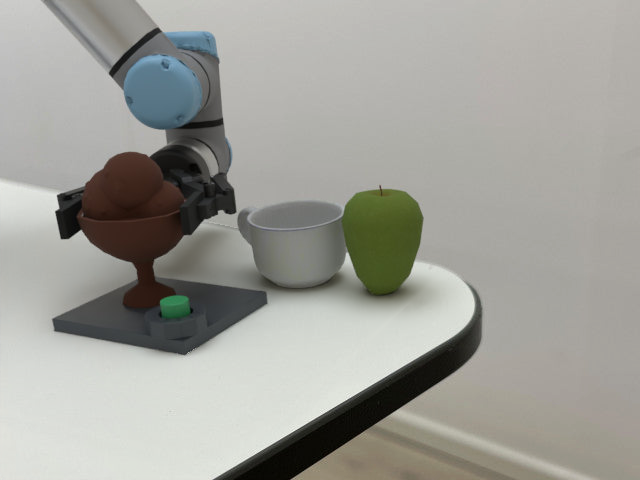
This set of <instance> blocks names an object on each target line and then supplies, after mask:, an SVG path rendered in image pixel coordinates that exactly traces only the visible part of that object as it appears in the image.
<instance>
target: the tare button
mask: <svg viewBox="0 0 640 480" xmlns="http://www.w3.org/2000/svg"><path fill="white" fill-rule="evenodd" d="M160 307H161V313H162V318H167V319H172V318H181V317H185V316H188V315H190V314H191V313H190V305H189V299H188V298H187V297H186V296H170V297H166V298H164V299H162V300H161V301H160Z"/></svg>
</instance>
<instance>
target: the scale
mask: <svg viewBox="0 0 640 480" xmlns="http://www.w3.org/2000/svg"><path fill="white" fill-rule="evenodd" d="M155 280H156V281H157V282H159V283H162V284H164V285H167V286H169V287H172V288H174V290H175V292H176V296H186V297H187V298H188V299H189V305H190V313H191V314H190V315H188V316H185V317H181V318H172V319H167V318H162V313H161V307H160V305H159V306H154V307H149V308H132V307H129V306H127V305H124V304H123V298H124V293H125V292H127V291H128V290H130V289H131V288H132V287H134V286H135V285H136V284H138V278H137V279H135V280H132V281H131V282H129V283H126V284H124V285H122V286H119V287H118V288H116V289H113V290H111V291H109V292H107V293H105V294H102V295H100V296H98V297H96V298H94V299H91V300H90V301H88V302H85V303H83V304H81V305H79V306H76V307H75V308H71V309H70V310H68V311H66V312H63V313H61V314H59V315H57V316H55V317H52V318H51V322H52V326H53V331H54V332H58V333H62V334H68V335H74V336H79V337H84V338H90V339H95V340H102V341H106V342H111V343H118V344H122V345H123V344H124V345H128V346H133V347H137V348H138V347H139V348H144V349H150V350H155V351H160V352H165V353H171V354H176V355H182V356H187V355H188V354H189V353H188V352H190V351H191V352H193V351H194V350H196V349H197V348H199V347H200V345H201V346H202V345H204V344H205V343H207V342H208V341H210V340H212V339H213V338H216V336H219V334H221V333H223V332H224V331H226V330H228V329H230V328H231V327H233V326H234V325H236V324H237V323H239V322H240V321H242V320H244V319H246V318H247V317H248V316H250V315H252V314H253V313H255V312H256V311H258V310H259V309H261V308H262V307H264V306H266V305H267V304H268V293H267V291H265V290H256V289H251V288H243V287H234V286H228V285H221V284H213V283H205V282H197V281H191V280H183V279H177V278H168V277H162V276H155ZM195 348H196V349H195ZM193 349H194V350H193ZM192 350H193V351H192ZM191 352H190V353H191ZM177 353H178V354H177ZM187 353H188V354H187Z"/></svg>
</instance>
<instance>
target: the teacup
mask: <svg viewBox="0 0 640 480" xmlns="http://www.w3.org/2000/svg"><path fill="white" fill-rule="evenodd" d="M344 208H345V206H343V205H342V204H339V203H337V202H335V201H331V200H327V199H326V200H324V199H314V198H313V199H307V198H305V199H303V198H301V199H291V200H283V201H278V202H274V203H270V204H266V205H264V206H260V207H257V206H253V205H251V206H245V207H244V208H242V209H241V210H240V211H239V212H238V215H237V218H236V219H237V227H238V230H239V233H240V234H241V236H242V238H243V239H244V240H245V242H247V243H248V244H249V245H250V246H251V250H252V255H253V260H254V264H255V266H256V269H257V270H258V272H259V274H261V275H262V276H263V277H265V279H268V280H269V281H271V282H272V283H273V284H275V285H277V286H279V287H282V288H287V289H307V288H312V287H317V286H321V285H323V284H324V283H326V282H328V281H330V280H331V279H332V278H333V276H334V275H335V274H336V273H338V272H339V271H340V270H341V269H342V267H343V266H344V263H345V260H346V256H347V247H346V243H345V238H344V233H343V227H342V222H341V221H342V217H343V213H344Z"/></svg>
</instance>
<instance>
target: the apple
mask: <svg viewBox="0 0 640 480" xmlns="http://www.w3.org/2000/svg"><path fill="white" fill-rule="evenodd" d="M378 188H379V189H369V190H364V191H363V190H362V191H359V192H355V194H353V196H352V197H351V198H349V200H348V201H346V204H345V205H344V213H343V217H342V221H341V222H342V227H343V233H344V238H345V243H346V251H347V253H348V256H349V259H350V261H351V264H352V267H353V270H354V273H355V276H356V277H357V278H358V280H359V281H360V282H361V283H362V284H363V286H364V287H365V288H366V290H367V291H368V292H369V293H370V295H374V296H381V295H388V294H391V293H393V292H395V291H398V289H399V288H400V287H402V285H403V284H404V283H405V281H406V280H407V279H409V277H410V276H411V273H412V270H413V268H414V264H415V262H416V258H417V255H418V252H419V249H420V246H421V242H422V241H421V240H422V235H423V234H422V233H423V225H424V215H423V212H422V210H421V207H420V205H419V202H418V201H417V200H416V199H415V198H413V197H412V196H411V195H410V194H409V193H408V192H407V191H404V190H400V189H393V188H382V185H381V184H379V185H378Z"/></svg>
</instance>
